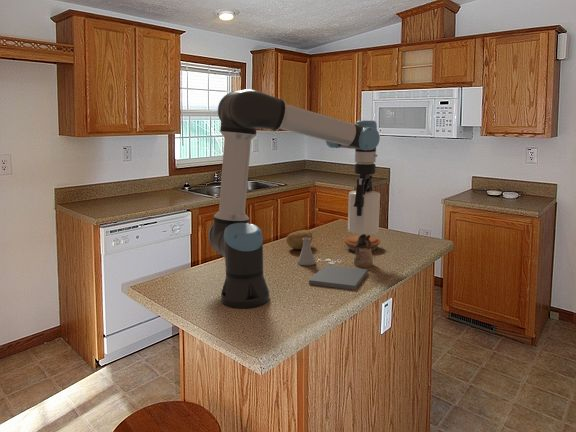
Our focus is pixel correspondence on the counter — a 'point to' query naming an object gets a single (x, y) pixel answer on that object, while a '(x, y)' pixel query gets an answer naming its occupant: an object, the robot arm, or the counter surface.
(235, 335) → the counter surface
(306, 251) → the flask
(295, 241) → the potato
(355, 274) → the slate board
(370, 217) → the white cylinder
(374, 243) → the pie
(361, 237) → the figurine
